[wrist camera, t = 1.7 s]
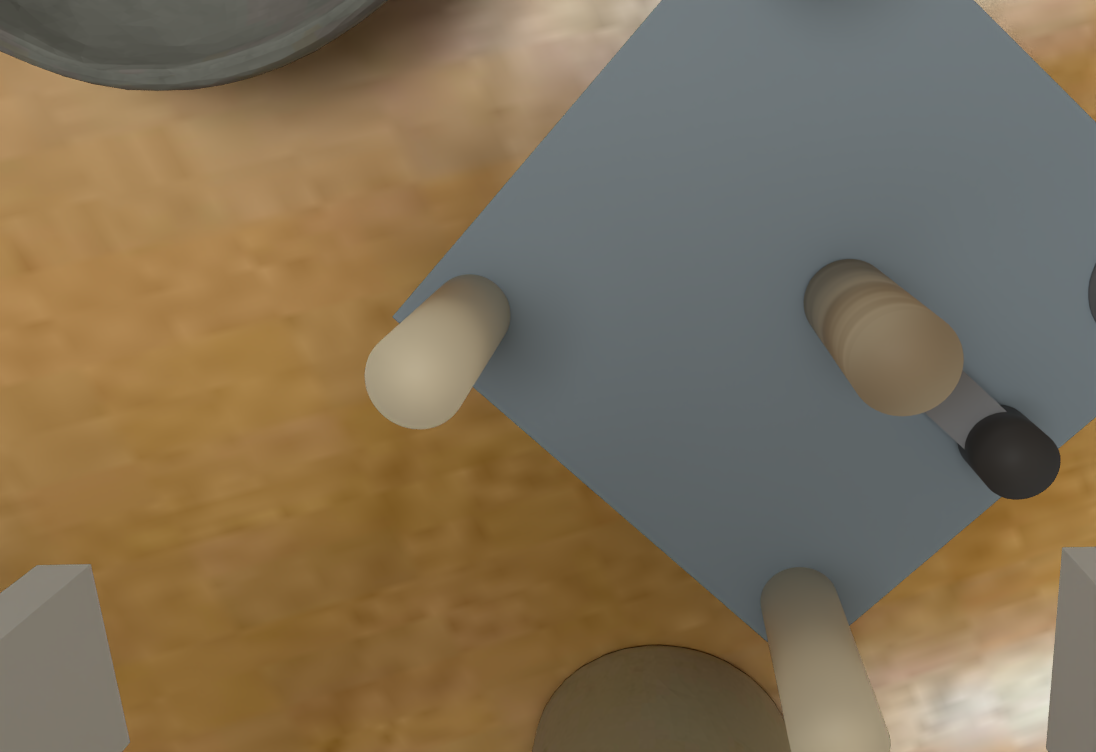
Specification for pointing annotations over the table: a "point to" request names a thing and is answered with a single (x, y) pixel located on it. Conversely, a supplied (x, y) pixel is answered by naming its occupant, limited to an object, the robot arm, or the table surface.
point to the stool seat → (774, 302)
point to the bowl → (171, 37)
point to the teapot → (660, 707)
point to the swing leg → (923, 375)
